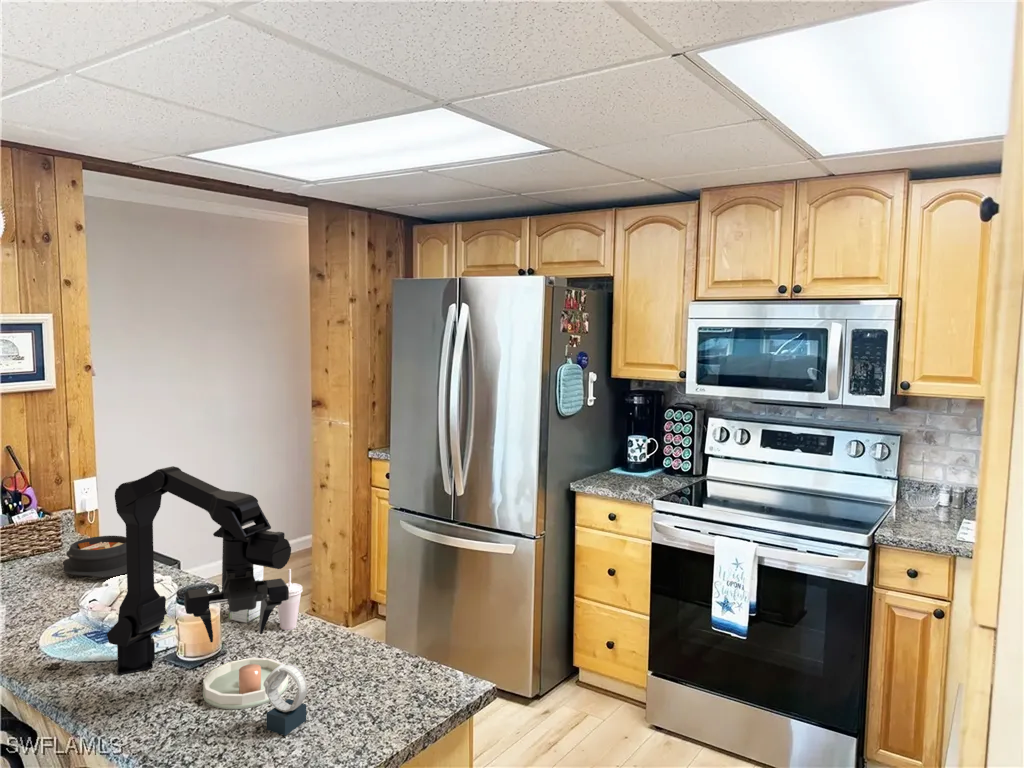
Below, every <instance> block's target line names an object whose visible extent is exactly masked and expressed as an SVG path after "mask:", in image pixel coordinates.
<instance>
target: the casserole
mask: <svg viewBox="0 0 1024 768" xmlns="http://www.w3.org/2000/svg"><path fill="white" fill-rule="evenodd" d="M65 555H66V556H67V557H68V558H67V559H65V560H63V561H62V565H63V569H62V570H63V572H64V573H65V574H68V575H72V576H79V577H86V578H92V577H93V578H103V579H104V578H111V577H117V576H121V575H124V574H125V575H126V574H127V554H126V536H122V535H99V536H92V537H88V538H83V539H80V540H78V541H75V542H73V543H72V544H71V545H70V546H69V549H68V550H67V552H66V554H65Z"/></svg>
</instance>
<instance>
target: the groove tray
mask: <svg viewBox="0 0 1024 768" xmlns="http://www.w3.org/2000/svg"><path fill="white" fill-rule="evenodd" d="M249 664H257V665H260V666H261V690H259V691H254V692H250V693H245V694H239V669H240V668H241V667H243V666H245V665H249ZM282 664H285V663H283V662H281V661H278V660H275V659H273V658H270V657H269V658H265V657H264V658H260V657H248V658H244V659H243V658H242V659H239V660H233V661H232V660H231V661H229V662H228V661H227V663H224V664H222V665H220V666H218V667H216V668H214V669H211V670H210V671H209V673H208V674H207V675H206V676H205V677H204V678H203V679H202V680H203V681H202V682H203V683H202V685H203V686H202V698H204V699H203V700H204V702H205V703H206V704H207V705H209V704H210V705H209V706H212V707H214V708H218V709H223V710H244V709H250V707H251V708H255V707H258V706H262V705H266V704H267V703H269V702H270V700H269V698H268V696H267V694H266V692H265V687H264V685H263V684H264V681H265V680H266V678H267V677H268V675H269V674H270V673H271V672H272V671H273V670H274V669H275V668H277V667H278V666H280V665H282ZM288 687H289V674H288V675H287V677H286V678H285V680H284V681H283V682H282V683H281V684H280V686H279V687H278V688H277V689H278V692H279V694H280V696H283V694H284V693H285V692H286V691H287V689H288ZM272 697H273V696H272ZM270 703H271V702H270Z"/></svg>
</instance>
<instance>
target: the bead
mask: <svg viewBox="0 0 1024 768" xmlns="http://www.w3.org/2000/svg"><path fill="white" fill-rule="evenodd" d="M259 690H261V666H260V665H257V664H249V665H245V666H243V667H241V668H240V669H239V694H245V693H250V692H254V691H259Z"/></svg>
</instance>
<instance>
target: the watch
mask: <svg viewBox="0 0 1024 768" xmlns="http://www.w3.org/2000/svg"><path fill="white" fill-rule="evenodd" d="M287 675H288V676H289V675H290V676H291V677H292V679H293V680H294V682H295V683H296V686H297V692H296V694H295V696H294V700H293V699H290V698H287V699H286V700H284V699H283V697H282V695H280V694H279V692H278V689H277V688H278V687H279V686H280V684H281V683H282V682H283V681H284V680H285V678H286V677H287ZM307 683H308V682H307V679H306V676H305V674H304V672H303V670H301V668H299V667H298V666H296V665H295V664H292V663H287V664H285V663H284V664H282V665H280V666H278V667H277V668H275V669H274V670H273V671H272V672H271V673H270V674H269V675H268V677H267V678H266V680H265V681H264V684H263V685H264V687H265V692H266V694H267V696H268V698H269V700H270V704H271V705H272V706H273V708H272V709H271V710H269V711H267V712H266V721H265V723H266V730H267V731H269V732H272V733H275V734H278V735H280V736H284V737H286V736H287V735H288V734H290V733H292V732H293V731H294V730H296V729H297V728H298V727H300V726H301V725H302V724H304V723H305V722H307V704H306V703H303V702H304V701H305V699H306V697H307V693H308V684H307ZM272 696H273V697H272Z"/></svg>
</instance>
